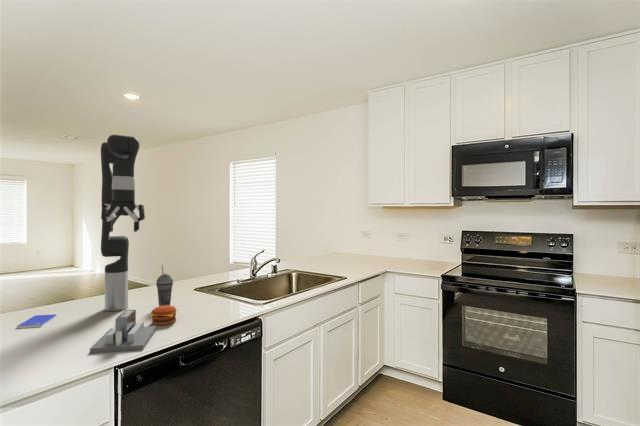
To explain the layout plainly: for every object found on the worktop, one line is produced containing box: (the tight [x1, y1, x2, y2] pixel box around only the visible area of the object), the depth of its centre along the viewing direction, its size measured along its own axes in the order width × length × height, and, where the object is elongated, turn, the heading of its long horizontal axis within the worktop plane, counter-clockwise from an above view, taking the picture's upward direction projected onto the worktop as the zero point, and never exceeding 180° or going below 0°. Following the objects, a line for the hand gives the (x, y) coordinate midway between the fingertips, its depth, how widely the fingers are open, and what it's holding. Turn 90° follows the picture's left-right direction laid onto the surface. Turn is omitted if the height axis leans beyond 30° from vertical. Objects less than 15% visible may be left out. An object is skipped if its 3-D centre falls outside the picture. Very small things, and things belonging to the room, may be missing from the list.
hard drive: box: [16, 313, 58, 329], centre depth 139 cm, size 2×8×12 cm
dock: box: [89, 321, 157, 354], centre depth 123 cm, size 18×16×6 cm
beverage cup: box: [155, 264, 174, 307], centre depth 160 cm, size 7×7×20 cm
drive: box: [114, 309, 137, 342], centre depth 122 cm, size 10×4×8 cm, turn 12°
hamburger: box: [149, 305, 179, 327], centre depth 142 cm, size 9×10×7 cm
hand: (123, 231), depth 130 cm, fingers open, 8 cm apart
